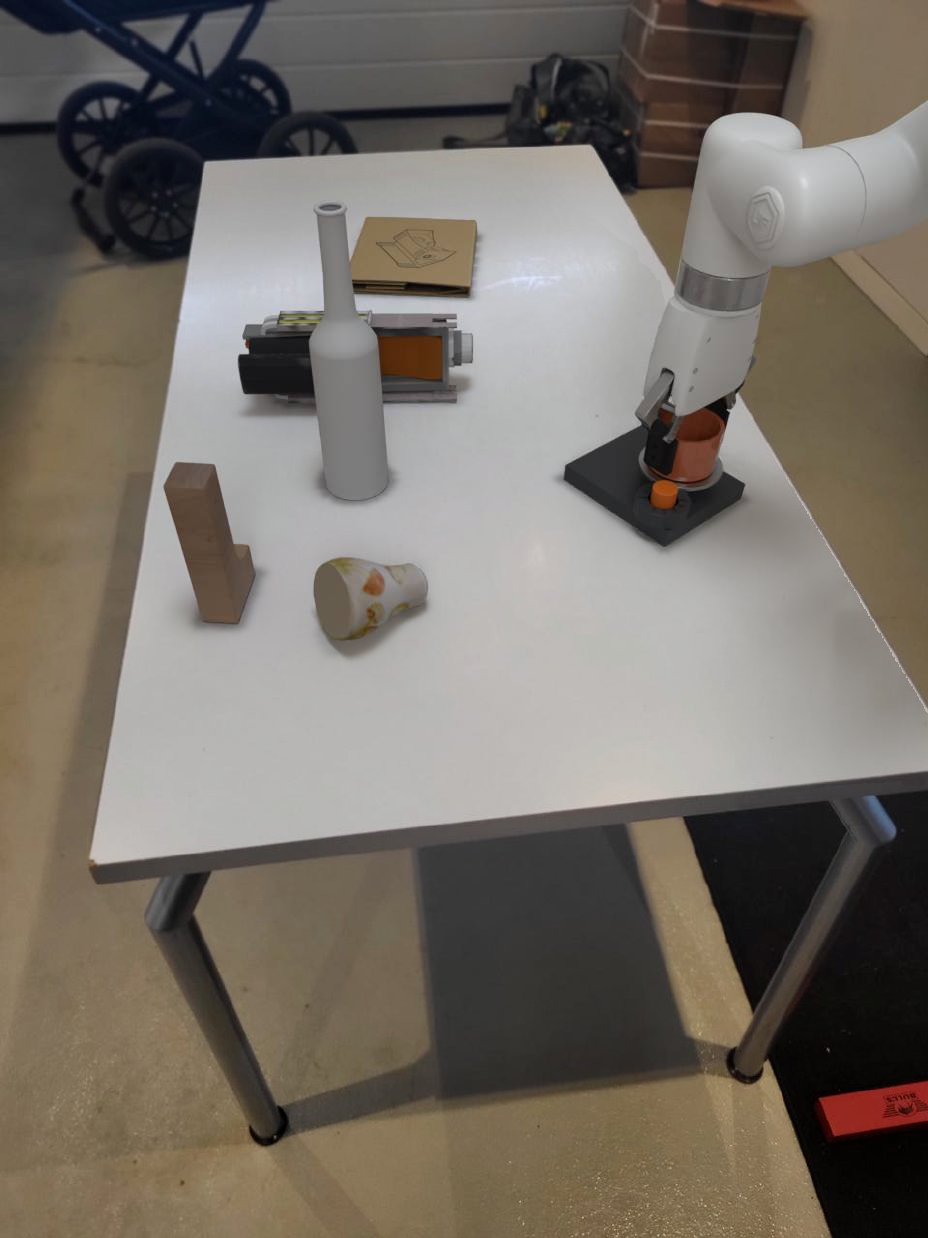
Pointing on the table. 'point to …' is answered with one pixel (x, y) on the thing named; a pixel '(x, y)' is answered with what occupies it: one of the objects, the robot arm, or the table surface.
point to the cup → (696, 445)
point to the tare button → (664, 494)
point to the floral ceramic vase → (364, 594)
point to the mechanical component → (406, 354)
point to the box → (414, 256)
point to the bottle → (346, 373)
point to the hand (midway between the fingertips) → (682, 452)
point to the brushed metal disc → (682, 486)
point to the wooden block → (209, 542)
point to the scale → (645, 489)
